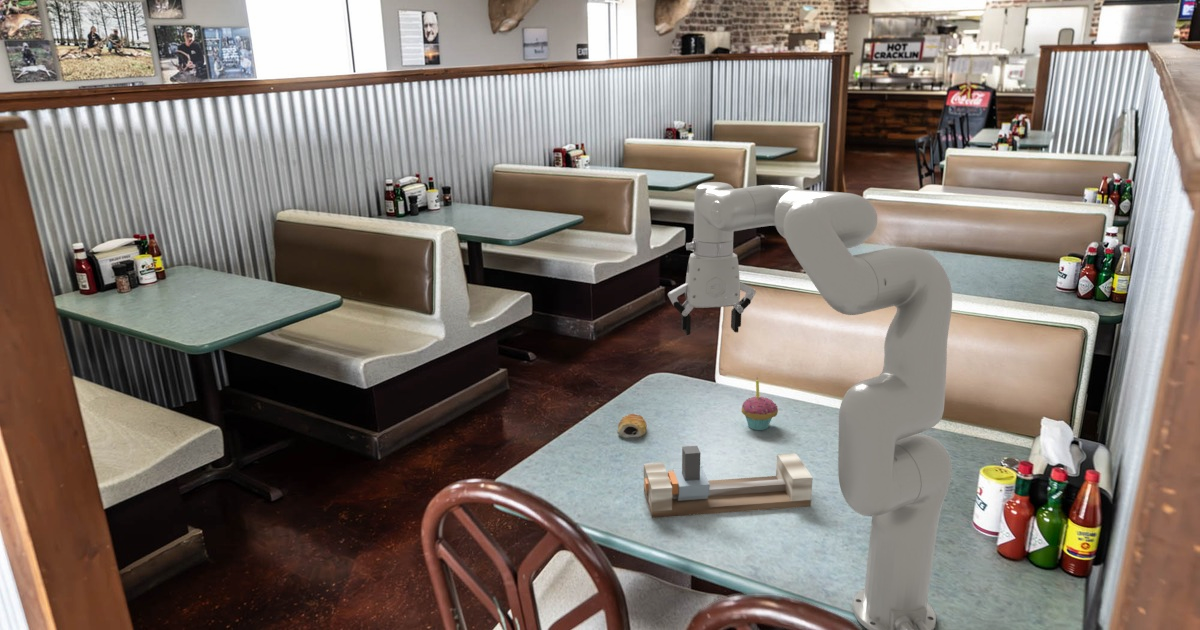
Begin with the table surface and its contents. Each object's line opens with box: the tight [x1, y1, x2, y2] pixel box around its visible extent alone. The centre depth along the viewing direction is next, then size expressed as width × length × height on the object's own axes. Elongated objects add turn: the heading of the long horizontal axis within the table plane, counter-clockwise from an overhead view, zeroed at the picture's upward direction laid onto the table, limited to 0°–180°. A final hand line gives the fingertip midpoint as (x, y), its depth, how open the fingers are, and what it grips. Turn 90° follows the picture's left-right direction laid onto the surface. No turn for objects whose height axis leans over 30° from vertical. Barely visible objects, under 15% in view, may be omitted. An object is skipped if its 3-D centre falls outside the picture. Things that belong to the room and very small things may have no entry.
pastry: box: [617, 413, 648, 438], centre depth 196 cm, size 9×7×4 cm
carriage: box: [672, 445, 710, 501], centre depth 163 cm, size 7×6×10 cm
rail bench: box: [643, 452, 814, 519], centre depth 165 cm, size 10×32×6 cm, turn 96°
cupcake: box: [741, 376, 779, 431], centre depth 195 cm, size 9×8×12 cm
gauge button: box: [645, 470, 678, 495], centre depth 164 cm, size 5×6×2 cm
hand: (710, 331), depth 163 cm, fingers open, 9 cm apart
